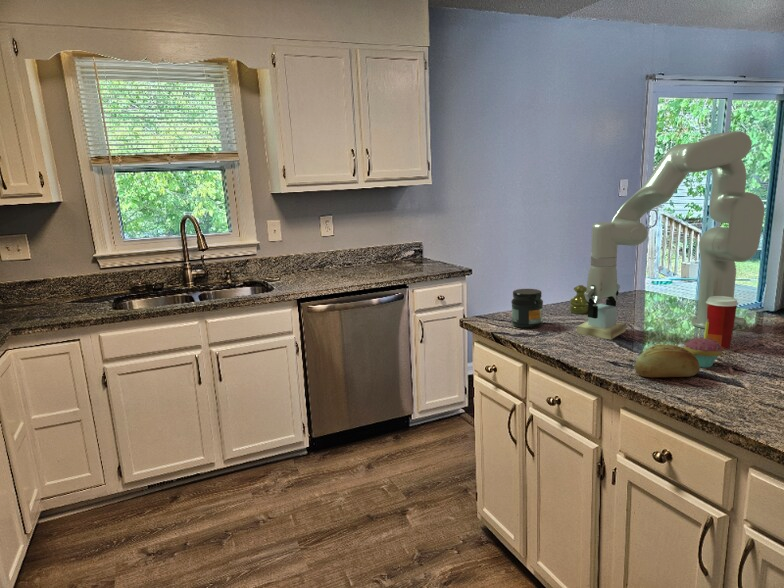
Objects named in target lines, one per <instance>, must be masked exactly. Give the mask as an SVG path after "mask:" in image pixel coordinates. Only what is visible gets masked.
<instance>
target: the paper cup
mask: <svg viewBox="0 0 784 588" xmlns="http://www.w3.org/2000/svg"><path fill="white" fill-rule="evenodd" d="M706 303H707V319H708V322H709V326H708V334H707V338H708V339H711V340H714V341H716V342H718V343H719V344H720V345H721V347H722V350H728V349H730V347H731V342H732V339H733V338H732V337H733V331H734V329H733V327H734V320H735V313H736V312H737V306H738V305H739V303H738V300H737V299H736V298H735V297H734V298H732V297H726V296H711V297H709V298H708V299H707V301H706ZM736 314H737V313H736Z"/></svg>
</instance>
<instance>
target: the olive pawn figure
mask: <svg viewBox="0 0 784 588" xmlns="http://www.w3.org/2000/svg"><path fill="white" fill-rule="evenodd" d="M573 291H574V292H576V295H575V296H573V298H570V300H569V303H570V305H569V311H570V313H572V314H577V315H584V314H585V315H586V314H587V315H588V305H587V302H586V299H585V296H584V294H585V293H586V291H587V286H584V285H582V284H579V285H577V286H575V287H573Z"/></svg>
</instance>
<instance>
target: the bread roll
mask: <svg viewBox="0 0 784 588" xmlns="http://www.w3.org/2000/svg"><path fill="white" fill-rule="evenodd" d="M700 368H701V367H700V366H699V363H698V360H697V359H696V357H695V356H694V355H693V354H692V353H691V352H689V351H688V350H686V349H684V347H682V346H678V345H675V344H674V345H673V344H655V345H651V346H650V347H648V348H645V350H643V351H642V352H641V354H640V355H639V356H638V358H637V359H636V361H635V363H634V370H635V373H636V374H637V375H638V376H641V377H644V378H677V377H679V378H685V377H687V378H688V377H694V376H695V375H697V374H698V373H699V371H700V370H701V369H700Z"/></svg>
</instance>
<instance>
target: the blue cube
mask: <svg viewBox="0 0 784 588" xmlns="http://www.w3.org/2000/svg"><path fill="white" fill-rule="evenodd" d="M596 306H598V318H596V319H595V318H590V317H588V319H587V321H588V325H591V326H595V327H600V328H604V329H606V328H609V327H611V326H614V325H616V322H617V314H618V313H617V312H618V311H617V310H618V306H616V307H615V306H610V305H606V304H604V303H597V305H596Z"/></svg>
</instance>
